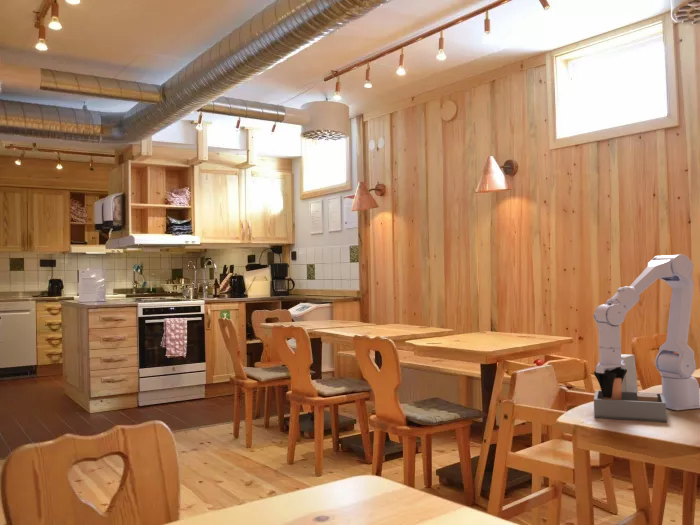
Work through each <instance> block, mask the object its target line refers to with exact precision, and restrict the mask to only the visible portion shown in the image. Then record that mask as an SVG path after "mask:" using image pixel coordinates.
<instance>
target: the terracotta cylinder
mask: <svg viewBox="0 0 700 525" xmlns="http://www.w3.org/2000/svg"><path fill="white" fill-rule="evenodd" d="M603 399H609V400H622V380H621V378H619V377H615V379H614V383H613V391H612V397H611V398H606V397H603Z"/></svg>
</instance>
